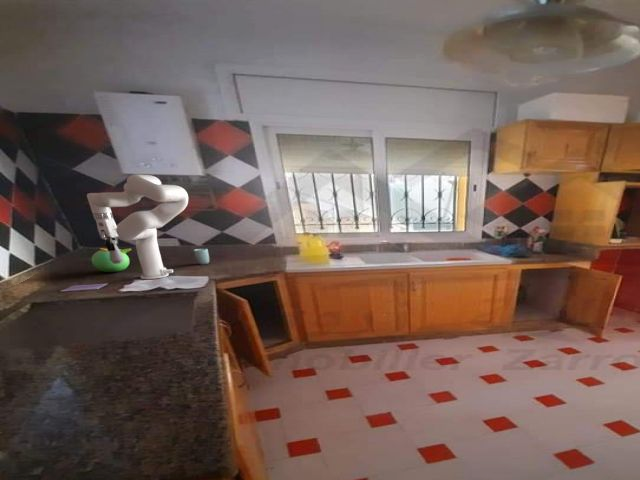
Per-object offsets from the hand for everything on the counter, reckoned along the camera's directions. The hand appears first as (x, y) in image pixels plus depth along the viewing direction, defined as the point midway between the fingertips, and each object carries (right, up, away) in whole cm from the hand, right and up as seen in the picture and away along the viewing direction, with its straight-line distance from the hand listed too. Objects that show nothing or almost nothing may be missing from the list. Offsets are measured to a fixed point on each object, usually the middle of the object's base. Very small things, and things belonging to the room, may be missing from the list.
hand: (114, 249), depth 178 cm
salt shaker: (0, -8, +2) cm, 8 cm away
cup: (+25, -5, +36) cm, 44 cm away
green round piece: (-13, -12, +14) cm, 22 cm away
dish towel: (+3, -22, -18) cm, 29 cm away
